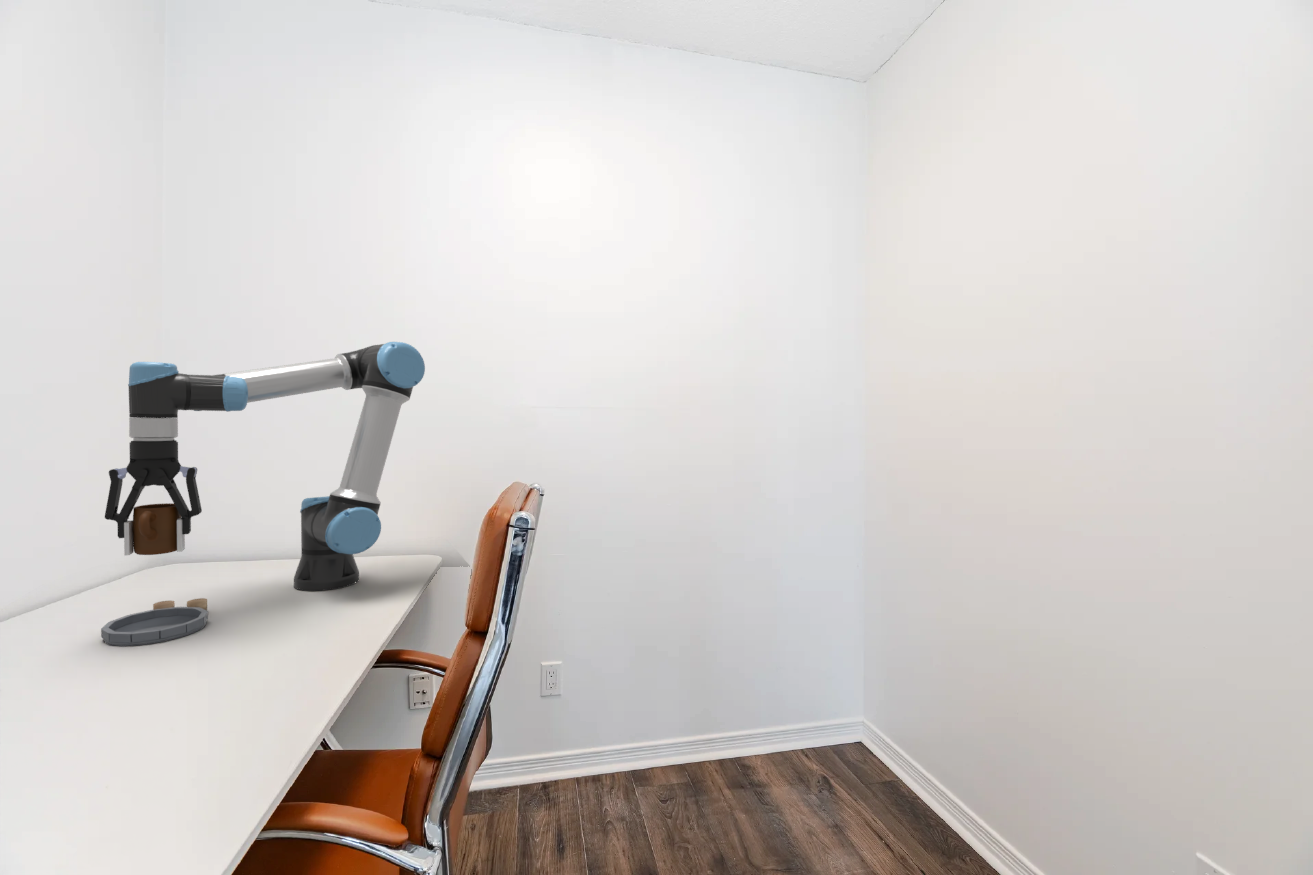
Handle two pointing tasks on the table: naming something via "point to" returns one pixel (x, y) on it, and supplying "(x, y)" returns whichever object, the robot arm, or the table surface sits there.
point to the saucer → (154, 626)
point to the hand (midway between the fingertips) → (155, 551)
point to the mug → (155, 529)
